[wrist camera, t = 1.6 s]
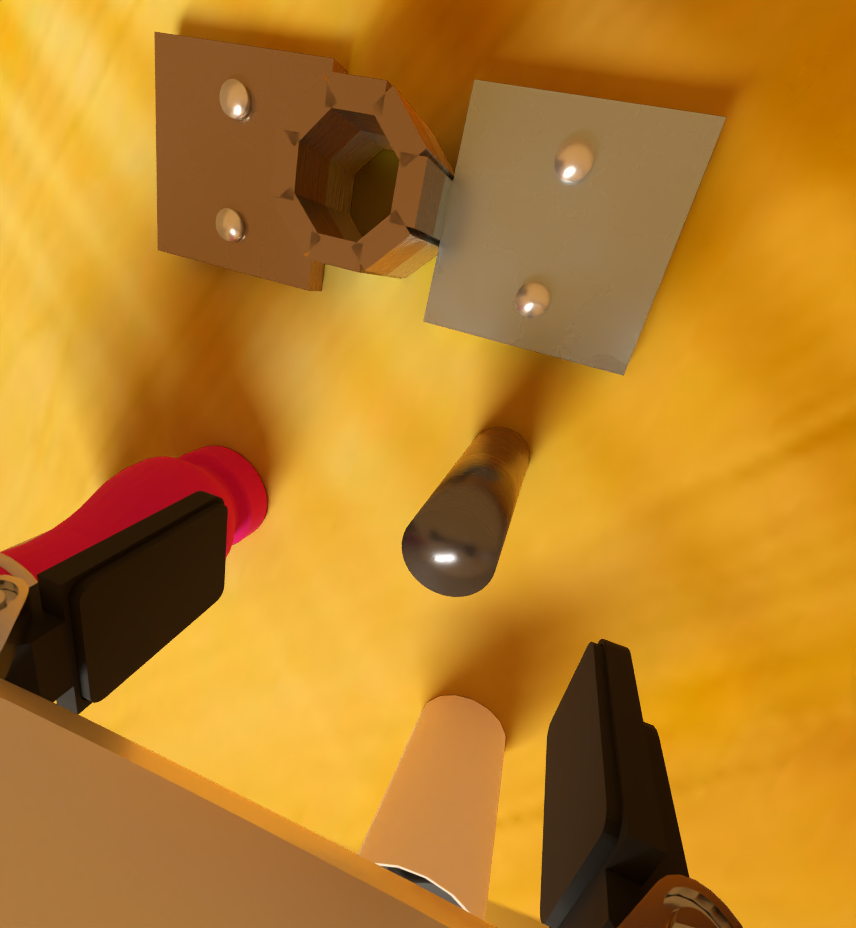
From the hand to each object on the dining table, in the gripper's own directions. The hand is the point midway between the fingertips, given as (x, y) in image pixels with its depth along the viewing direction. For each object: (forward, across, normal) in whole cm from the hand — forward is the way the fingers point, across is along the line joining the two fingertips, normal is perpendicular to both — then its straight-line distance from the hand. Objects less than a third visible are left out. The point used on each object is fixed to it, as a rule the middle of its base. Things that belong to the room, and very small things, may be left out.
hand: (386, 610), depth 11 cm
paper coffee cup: (+13, -4, +19) cm, 24 cm away
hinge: (+14, +7, -10) cm, 18 cm away
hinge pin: (+13, -1, 0) cm, 13 cm away
